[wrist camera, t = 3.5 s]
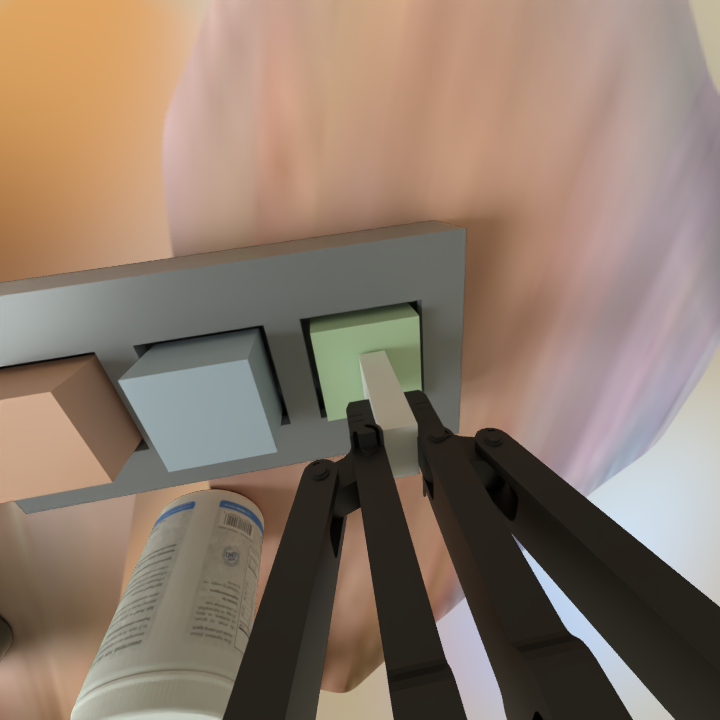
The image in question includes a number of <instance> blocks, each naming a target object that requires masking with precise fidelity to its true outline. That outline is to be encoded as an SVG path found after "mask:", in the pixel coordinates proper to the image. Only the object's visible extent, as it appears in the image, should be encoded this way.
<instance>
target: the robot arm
mask: <svg viewBox="0 0 720 720" xmlns="http://www.w3.org/2000/svg"><path fill="white" fill-rule="evenodd" d="M358 356H359V363H360V371H361V378H362V385H363V393H364V398H365V400H359V401H354V402H349V403H348V406H347V408H346V414H347V420H348V427H349V433H350V436H349V437H350V442H351V449H350V452H349V453H348V455H346V456H345V457H344V458H343V459H341V460H339V461H337V462H335V463H334V462H332V461H331V460H327V459H320V460H316V461H314V462H312V463H310V464H309V465H308V466H307V467H306V468H305V470H304V472H303V475H302V478H301V481H300V484H299V487H298V490H297V493H296V496H295V499H294V502H293V505H292V508H291V511H290V514H289V517H288V520H287V523H286V527H285V530H284V533H283V536H282V539H281V542H280V545H279V548H278V551H277V554H276V557H275V560H274V563H273V566H272V569H271V572H270V575H269V579H268V582H267V585H266V588H265V591H264V594H263V597H262V600H261V603H260V606H259V609H258V612H257V615H256V618H255V621H254V624H253V628H252V631H251V634H250V637H249V640H248V643H247V646H246V649H245V652H244V655H243V658H242V661H241V664H240V667H239V670H238V673H237V676H236V680H235V683H234V686H233V689H232V692H231V695H230V698H229V701H228V704H227V707H226V710H225V713H224V716H223V719H222V720H315V719H316V713H317V705H318V700H319V693H320V687H321V680H322V674H323V668H324V661H325V655H326V648H327V642H328V635H329V629H330V622H331V616H332V610H333V603H334V597H335V590H336V584H337V577H338V571H339V564H340V558H341V552H342V545H343V539H344V532H345V526H346V519H347V515H348V514H349V513H351V512H353V511H355V510H357V509H359V508H361V511H362V518H363V524H364V531H365V537H366V543H367V550H368V556H369V562H370V569H371V575H372V582H373V588H374V594H375V601H376V607H377V613H378V620H379V626H380V633H381V639H382V645H383V652H384V658H385V664H386V670H387V678H388V685H389V692H390V698H391V705H392V711H393V717H394V720H467V717H466V714H465V711H464V707H463V704H462V700H461V697H460V694H459V690H458V687H457V684H456V681H455V678H454V675H453V673H452V670H451V668H450V666H449V665H448V663H447V660H446V658H445V654H444V651H443V648H442V644H441V641H440V637H439V634H438V631H437V627H436V623H435V620H434V616H433V613H432V609H431V606H430V602H429V599H428V595H427V592H426V588H425V585H424V581H423V578H422V575H421V571H420V568H419V564H418V561H417V557H416V554H415V550H414V547H413V543H412V540H411V536H410V533H409V529H408V526H407V522H406V519H405V515H404V512H403V508H402V505H401V501H400V498H399V494H398V491H397V487H396V484H395V480H394V479H395V478H400V477H406V476H411V475H416V474H420V471H419V466H420V469H421V471H422V474H423V495H424V497H425V496H426V493H427V495H428V498H429V501H430V503H431V506H432V509H433V511H434V514H435V517H436V519H437V522H438V525H439V527H440V530H441V533H442V535H443V538H444V541H445V543H446V546H447V549H448V551H449V554H450V557H451V559H452V562H453V565H454V567H455V570H456V573H457V575H458V578H459V581H460V583H461V586H462V589H463V591H464V594H465V597H466V599H467V602H468V605H469V607H470V610H471V613H472V615H473V618H474V621H475V623H476V626H477V629H478V631H479V634H480V637H481V640H482V642H483V645H484V647H485V650H486V653H487V656H488V658H489V661H490V663H491V666H492V669H493V671H494V674H495V677H496V679H497V682H498V685H499V688H500V691H501V695H502V699H503V704H504V709H505V714H506V717H507V720H633V719H632V717H631V716H630V714H629V713H628V711H627V709H626V707H625V706H624V704H623V702H622V701H621V699H620V698H619V696H618V694H617V693H616V691H615V689H614V688H613V686H612V684H611V683H610V681H609V679H608V678H607V676H606V674H605V673H604V671H603V669H602V668H601V666H600V664H599V663H598V661H597V659H596V658H595V657H594V655H593V654H592V652H591V651H590V649H589V648H588V647H587V646H586V644H584V642H583V641H582V640H580V639H579V638H577V637H575V636H573V635H571V633H570V632H569V631H568V630H567V629H566V627H565V626H564V624H563V623H562V621H561V619H560V618H559V616H558V614H557V612H556V611H555V609H554V607H553V605H552V604H551V602H550V600H549V598H548V597H547V595H546V593H545V591H544V590H543V588H542V586H541V584H540V583H539V581H538V579H537V578H536V576H535V574H534V572H533V571H532V569H531V567H530V566H529V564H528V562H527V560H526V558H525V557H524V555H523V553H522V551H521V550H520V548H519V546H518V545H517V543H516V541H515V539H514V538H513V536H512V534H513V535H514V536H515V538H516V539H517V540H518V541H519V542H520V543H521V544H522V546H523V547H524V548H525V549H526V550H527V551H528V552H529V554H530V555H531V556H532V557H533V558H534V559H535V560H536V562H537V563H538V564H539V565H540V566H541V567H542V568H543V570H544V571H546V573H547V574H548V575H549V576H550V578H551V579H552V580H553V581H554V582H555V583H556V584H557V585H558V587H559V588H560V589H561V590H562V591H563V592H564V594H565V595H566V596H567V597H568V598H569V599H570V600H571V602H572V603H573V604H574V605H575V606H576V607H577V608H578V609H579V611H580V612H581V613H582V614H583V615H584V616H585V617H586V619H587V620H588V621H589V622H590V623H591V624H592V626H593V627H594V628H595V629H596V630H597V631H598V632H599V634H601V636H602V637H603V638H604V639H605V640H606V641H607V643H608V644H609V645H610V646H611V647H612V648H613V650H614V651H615V652H616V653H617V654H618V655H619V656H620V658H621V659H622V660H623V661H624V662H625V663H626V664H627V666H628V667H629V668H630V669H631V670H632V671H633V672H634V673H635V675H636V676H637V677H638V678H639V679H640V680H641V682H642V683H643V684H644V685H645V686H646V687H647V688H648V690H649V691H650V692H651V693H652V694H653V695H654V696H655V697H656V699H657V700H658V701H659V702H660V703H661V704H662V706H663V707H664V708H665V709H666V710H667V711H668V712H669V713H670V714H671V715H672V717H673V718H674V719H675V720H720V607H719V606H718V605H717V604H716V603H714V602H713V601H712V600H711V599H709V598H708V597H707V596H706V595H705V594H703V593H702V592H701V591H699V590H698V589H697V588H696V587H695V586H693V585H692V584H691V583H690V582H689V581H687V580H686V579H685V578H684V577H682V576H681V575H680V574H679V573H677V572H676V571H675V570H674V569H672V568H671V567H670V566H669V565H668V564H666V563H665V562H664V561H663V560H661V559H660V558H659V557H658V556H657V555H655V554H654V553H653V552H652V551H650V550H649V549H648V548H647V547H646V546H644V545H643V544H642V543H641V542H639V541H638V540H637V539H636V538H634V537H633V536H632V535H631V534H629V533H628V532H627V531H626V530H624V529H623V528H622V527H621V526H620V525H618V524H617V523H616V522H615V521H614V520H612V519H611V518H610V517H608V516H607V515H606V514H605V513H604V512H602V511H601V510H600V509H599V508H597V507H596V506H595V505H594V504H593V503H591V502H590V501H589V500H588V499H587V498H585V497H584V496H583V495H582V494H580V493H579V492H578V491H577V490H575V489H574V488H573V487H572V486H571V485H569V484H568V483H567V482H566V481H564V480H563V479H562V478H561V477H559V476H558V475H557V474H556V473H555V472H553V471H552V470H551V469H550V468H548V467H547V466H546V465H545V464H543V463H542V462H541V461H540V460H539V459H537V458H536V457H535V456H534V455H532V454H531V453H530V452H529V451H528V450H526V449H525V448H524V447H523V446H521V445H520V444H519V443H518V442H516V441H515V440H514V439H513V438H512V437H510V436H509V435H508V434H507V433H505V432H503V431H502V430H499V429H495V428H485V429H481V430H480V431H478V432H477V433H476V435H475V437H463V436H458V435H454V433H453V432H452V431H451V430H450V429H448V428H446V427H444V426H443V424H442V422H441V420H440V419H439V417H438V415H437V413H436V411H435V410H434V408H433V406H432V404H431V402H430V401H429V399H428V397H427V395H426V394H425V393H423V392H422V391H420V390H413V391H407V392H403V391H402V388H401V386H400V384H399V382H398V380H397V377H396V375H395V373H394V371H393V368H392V366H391V364H390V362H389V360H388V357H387V355H386V353H385V351H378V352H372V353H366V354H360V355H358ZM511 533H512V534H511ZM12 639H13V636H12V632H11V630H10V628H9V626H8V625H7V624H6V623H5V622H4V621H3V620H2V619H1V618H0V661H1V659H2V658H3V656H4V655H5V653H6V652H7V650H8V649H9V647H10V645H11V643H12Z"/></svg>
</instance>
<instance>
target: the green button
mask: <svg viewBox="0 0 720 720" xmlns="http://www.w3.org/2000/svg"><path fill="white" fill-rule="evenodd" d="M310 336H311V340H312V345H313V350H314V355H315V360H316V365H317V369H318V374H319V379H320V384H321V389H322V393H323V398H324V403H325V408H326V413H327V417H328V421H333V420H339V419H344V418H347V414H346V408H347V406H348V403H349V402H354V401H359V400H365V398H364V393H363V385H362V378H361V371H360V363H359V356H358V355H360V354H366V353H372V352H378V351H385V353H386V355H387V357H388V360H389V362H390V364H391V366H392V368H393V371H394V373H395V375H396V377H397V380H398V382H399V384H400V386H401V388H402V391H403V392H407V391H413V390H420V391H422V389H421V358H420V327H419V315H418V314H417V313H416V312H415V310H414V309H413V308H412V307H411V306H410V305H409V304H408V302H405V303H398V304H392V305H386V306H379V307H373V308H367V309H360V310H354V311H348V312H342V313H335V314H329V315H323V316H316V317H310Z"/></svg>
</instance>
